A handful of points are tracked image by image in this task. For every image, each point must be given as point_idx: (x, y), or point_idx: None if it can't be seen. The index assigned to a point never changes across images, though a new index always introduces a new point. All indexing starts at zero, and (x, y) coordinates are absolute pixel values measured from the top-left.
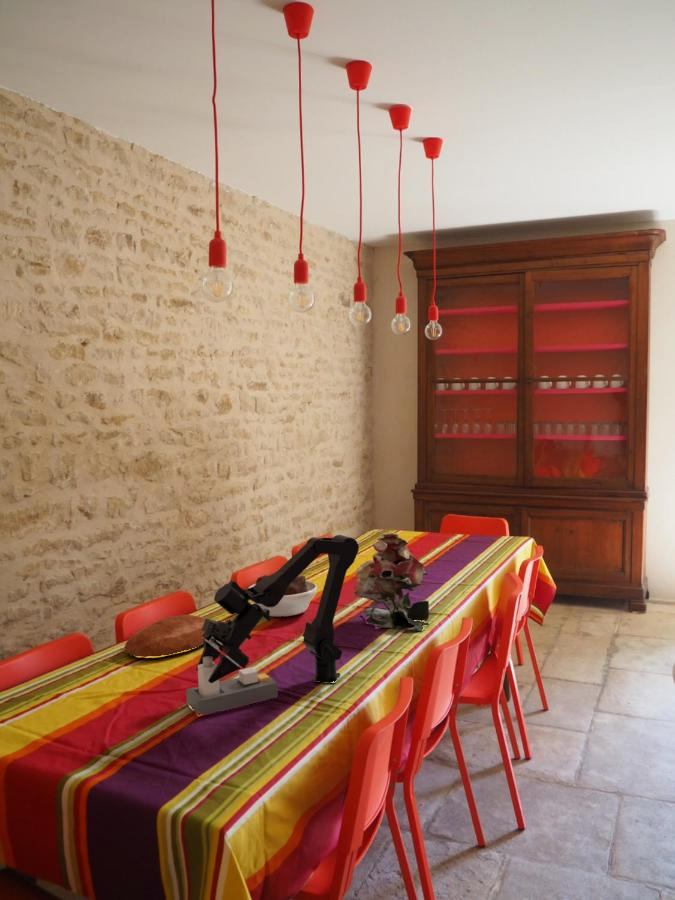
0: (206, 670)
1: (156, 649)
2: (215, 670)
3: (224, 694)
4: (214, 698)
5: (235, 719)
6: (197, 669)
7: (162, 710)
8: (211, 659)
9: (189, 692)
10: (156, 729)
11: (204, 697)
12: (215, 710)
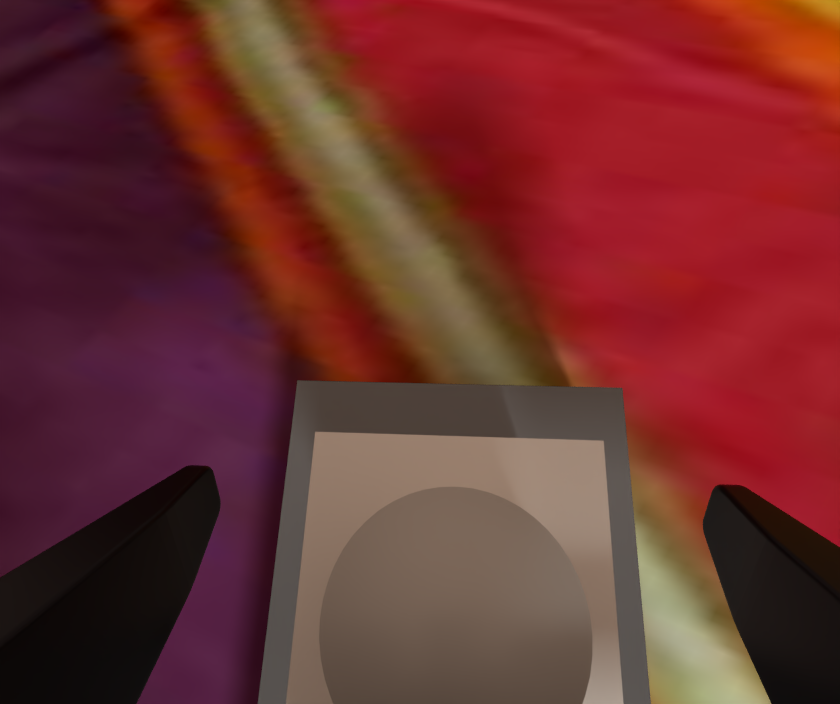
0: (314, 496)
1: None
2: (19, 573)
3: (279, 659)
4: (279, 536)
5: None
6: (720, 504)
7: (579, 259)
8: (341, 691)
9: (530, 388)
10: (337, 169)
11: None
12: None
